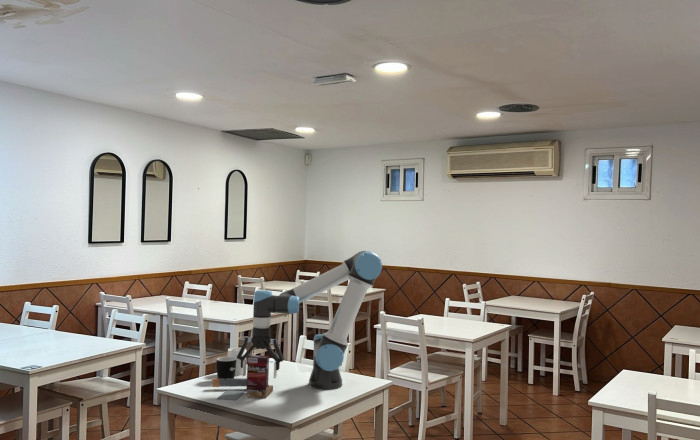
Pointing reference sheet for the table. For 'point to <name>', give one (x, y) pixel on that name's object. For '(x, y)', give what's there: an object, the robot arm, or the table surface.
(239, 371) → the cup
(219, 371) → the mug
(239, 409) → the table surface
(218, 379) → the lever
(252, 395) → the cradle
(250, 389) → the supplement box
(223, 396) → the slate mat
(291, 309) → the robot arm
